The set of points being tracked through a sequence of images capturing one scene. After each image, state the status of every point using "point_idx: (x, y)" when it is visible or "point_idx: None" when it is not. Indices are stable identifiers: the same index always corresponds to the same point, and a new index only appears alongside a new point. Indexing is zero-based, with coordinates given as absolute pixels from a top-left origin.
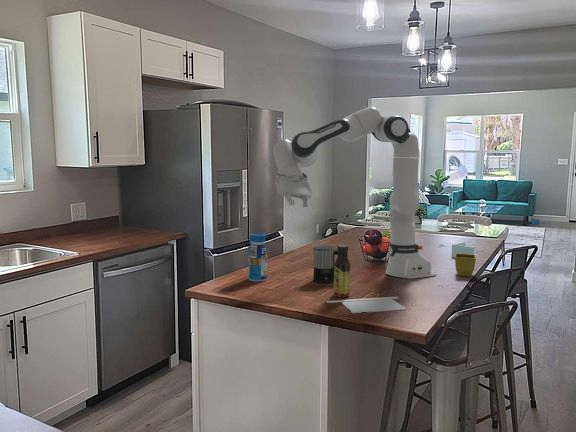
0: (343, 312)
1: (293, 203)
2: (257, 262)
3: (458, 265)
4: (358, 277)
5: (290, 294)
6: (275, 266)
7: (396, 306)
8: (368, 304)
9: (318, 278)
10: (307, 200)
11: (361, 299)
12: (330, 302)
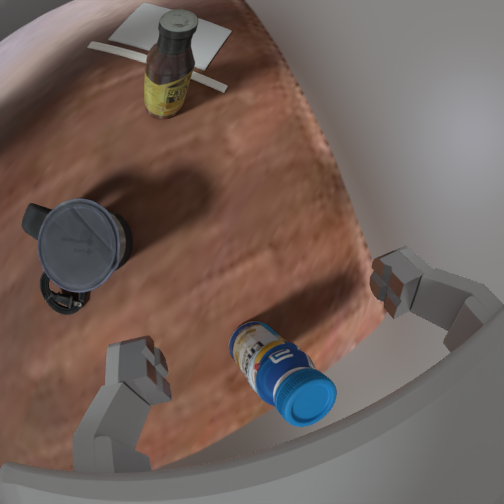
0: (240, 42)
1: (393, 252)
2: (285, 339)
3: None
4: (13, 220)
5: (256, 180)
6: (147, 432)
7: (144, 13)
8: None
9: (127, 230)
10: (90, 415)
11: None
12: (221, 83)
